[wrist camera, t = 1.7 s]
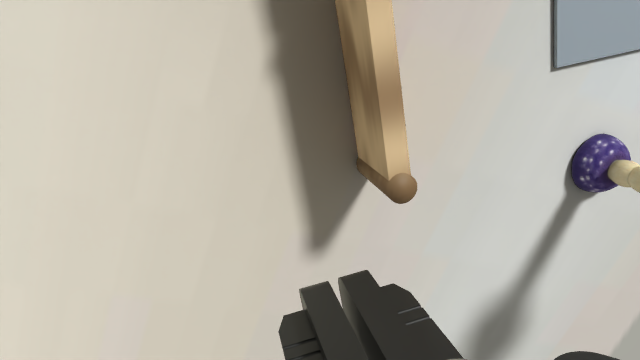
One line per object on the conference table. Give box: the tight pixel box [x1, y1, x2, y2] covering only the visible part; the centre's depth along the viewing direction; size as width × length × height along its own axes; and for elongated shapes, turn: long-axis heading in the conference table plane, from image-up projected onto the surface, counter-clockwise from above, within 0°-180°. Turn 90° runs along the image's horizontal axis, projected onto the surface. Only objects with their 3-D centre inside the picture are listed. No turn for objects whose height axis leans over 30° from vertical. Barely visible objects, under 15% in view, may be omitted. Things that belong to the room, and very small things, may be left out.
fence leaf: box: [335, 0, 417, 204], centre depth 24 cm, size 13×2×5 cm, turn 10°
